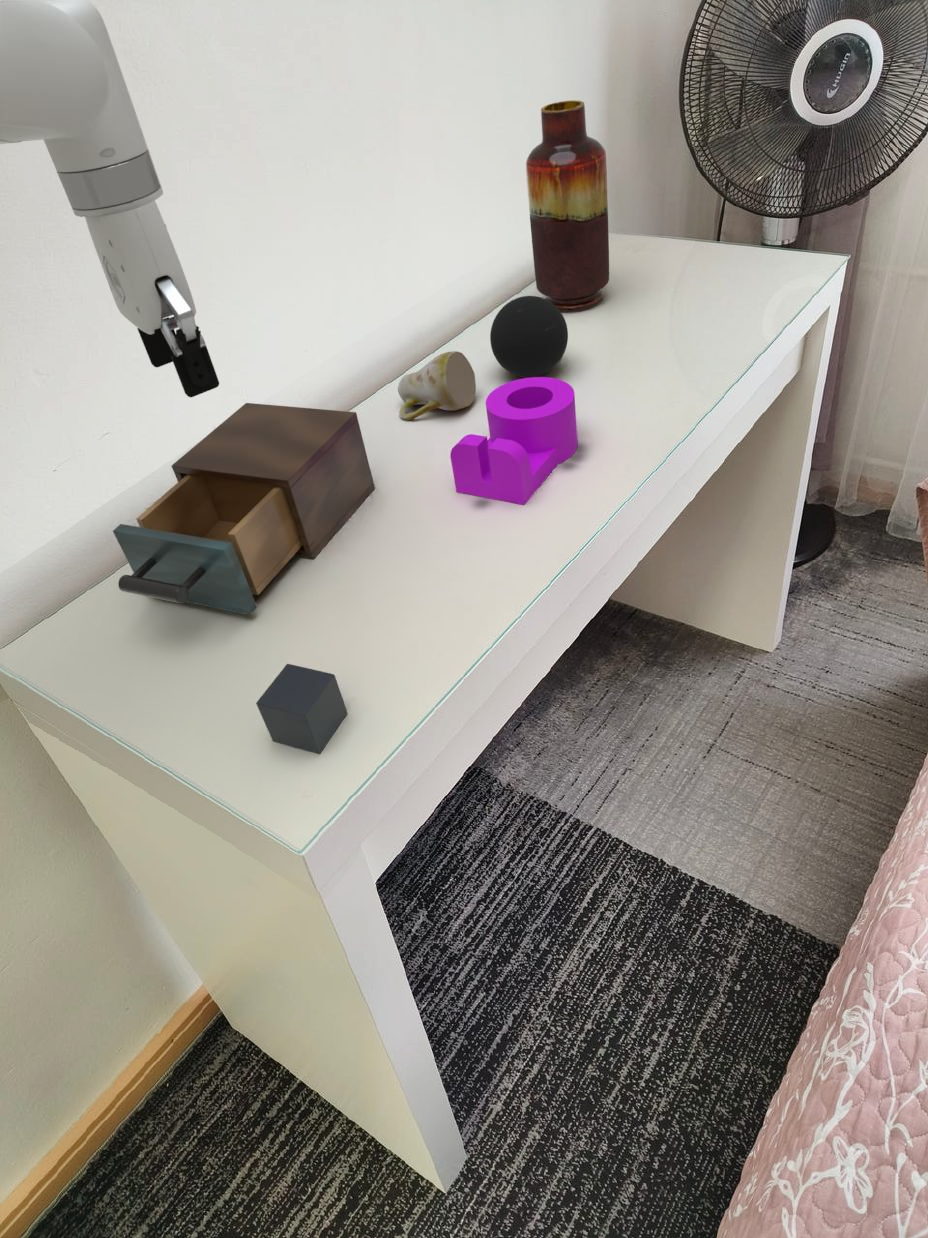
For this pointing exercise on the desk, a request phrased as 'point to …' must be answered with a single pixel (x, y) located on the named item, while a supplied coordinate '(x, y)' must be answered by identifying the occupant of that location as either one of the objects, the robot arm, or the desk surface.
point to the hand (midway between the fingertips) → (185, 376)
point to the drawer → (210, 543)
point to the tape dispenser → (518, 440)
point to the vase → (568, 210)
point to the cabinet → (291, 463)
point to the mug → (438, 385)
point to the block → (302, 708)
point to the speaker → (529, 336)
